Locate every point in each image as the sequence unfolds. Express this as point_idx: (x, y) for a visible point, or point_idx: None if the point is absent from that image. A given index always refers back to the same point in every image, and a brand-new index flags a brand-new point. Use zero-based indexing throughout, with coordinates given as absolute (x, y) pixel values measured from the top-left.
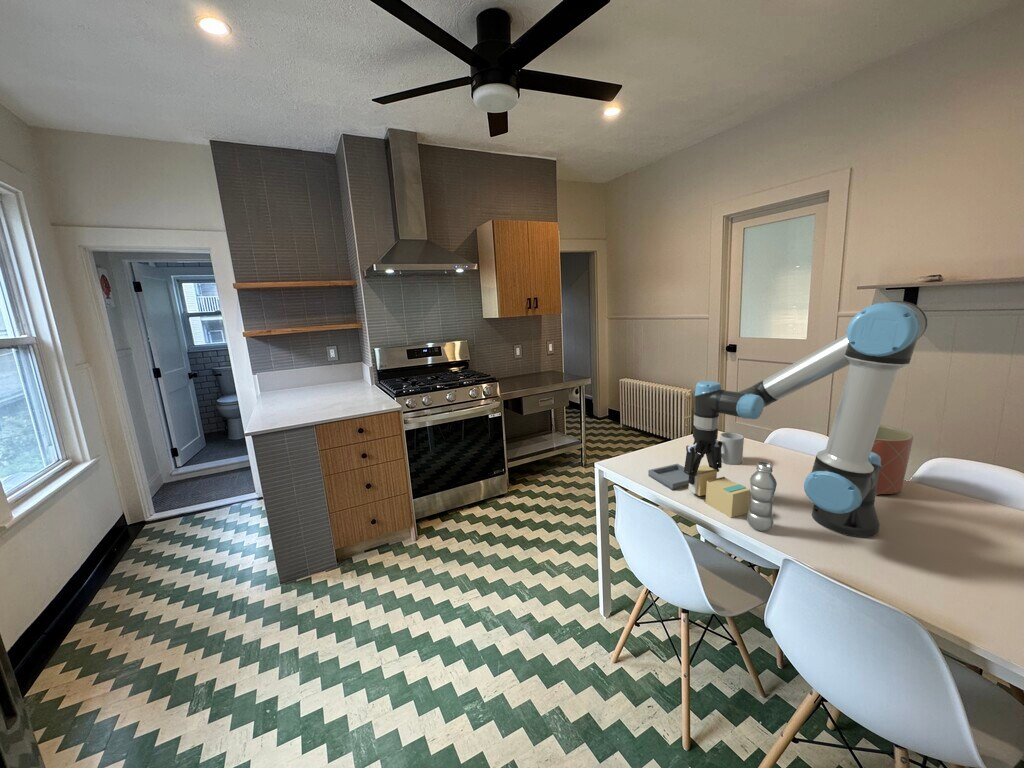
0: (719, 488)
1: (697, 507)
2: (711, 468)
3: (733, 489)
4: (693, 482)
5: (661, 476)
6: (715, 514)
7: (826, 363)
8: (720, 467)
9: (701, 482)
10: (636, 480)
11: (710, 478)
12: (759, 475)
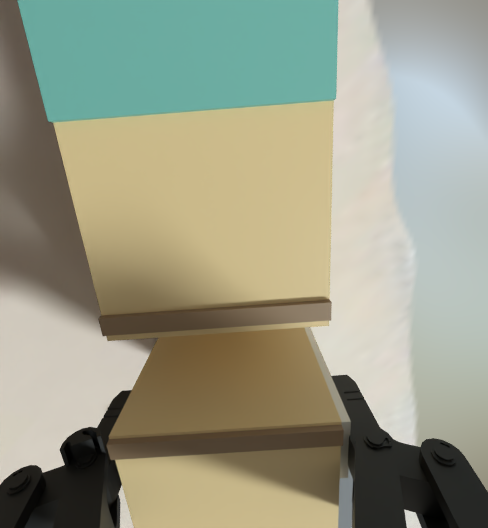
0: (329, 154)
1: (367, 231)
2: (133, 483)
3: (234, 14)
4: (338, 386)
5: (343, 513)
6: (338, 126)
7: None
8: (25, 473)
9: (305, 359)
10: (417, 518)
11: (207, 376)
12: None
